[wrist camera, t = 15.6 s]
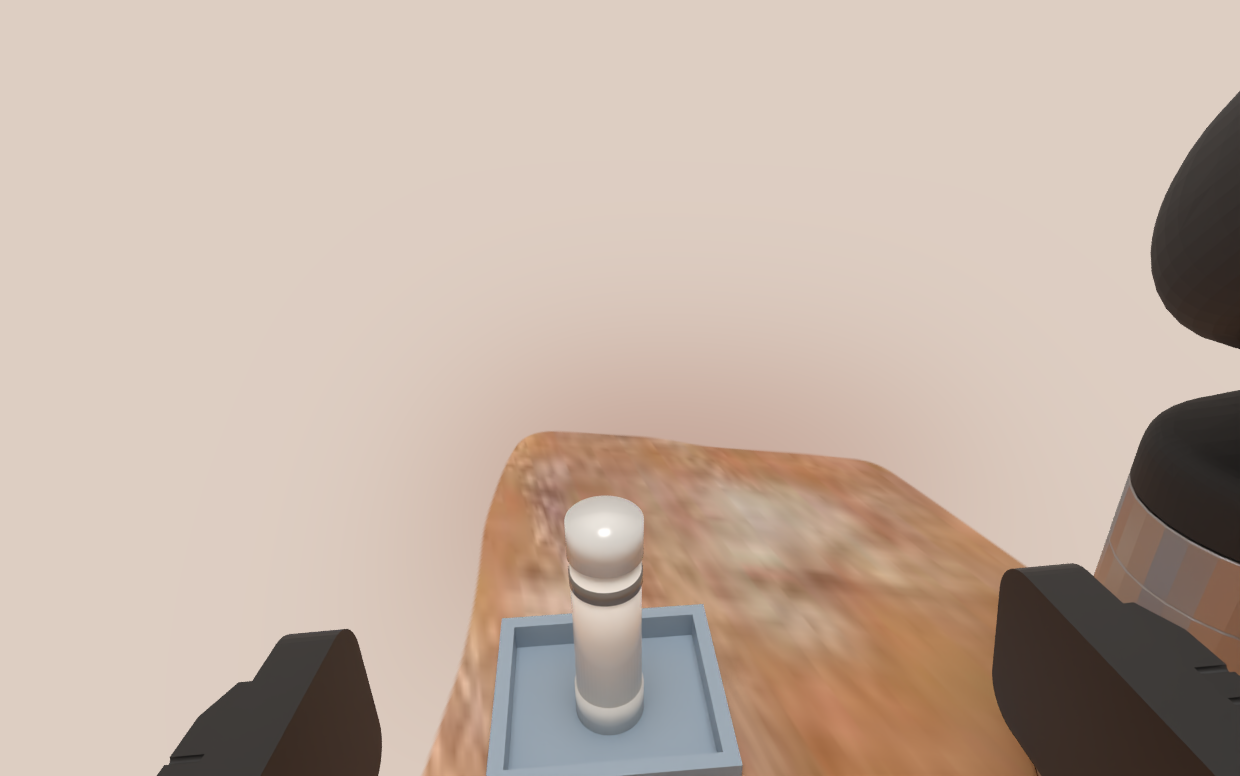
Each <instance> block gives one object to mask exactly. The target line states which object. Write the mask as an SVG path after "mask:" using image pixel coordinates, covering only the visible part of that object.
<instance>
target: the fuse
mask: <svg viewBox="0 0 1240 776" xmlns="http://www.w3.org/2000/svg"><path fill="white" fill-rule="evenodd" d="M564 523H565V539H566V554H567V560H568V562H569V569H568V570H569V585H570V589H571V603H572V619H573V635H574V652H575V668H576V676H575V697H576V711H577V715H578V718H579V720H580V721H581V723H582V724H583V725H584V726H585V727H586V728H588V729H589V730H591V731H593V732H595V733H597V734H601V735H617V734H621V733H624V732H626V731H628V730H630V729H631V728H633V727H634V726H635V725H636V724H637V723H638V721H639V720H640V718H641V716H642V714H643V709H644V678H643V673H642V583H643V565H642V558H643V554H644V517H643V513H642V511H641V510H640V508H639V507H638V506H637V505H635V504H634V503H632V502H631V501H629V500H626V499H624V498H620V497H615V496H596V497H591V498H587V499H584V500H582V501H580V502H578V503H576V504H575V505H573V506H572V507H571V508H570V509H569V510H568V512H567V513H566V516H565V520H564Z"/></svg>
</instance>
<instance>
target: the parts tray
mask: <svg viewBox="0 0 1240 776" xmlns="http://www.w3.org/2000/svg"><path fill="white" fill-rule="evenodd" d="M642 673H643V678H644V709H643V714H642V716H641V718H640V720H639V721H638V723H637V724H636V725H635V726H634V727H633V728H631V729H630V730H628V731H626V732H624V733H621V734H617V735H601V734H597V733H595V732H593V731H591V730H589V729H588V728H586V727H585V726H584V725H583V724H582V723H581V721H580V720H579V718H578V715H577V711H576V697H575V676H576V668H575V652H574V635H573V619H572V614H559V615H545V616H531V617H517V618H503V619H502V624H501V634H500V644H499V654H498V664H497V674H496V683H495V693H494V703H493V713H492V723H491V733H490V743H489V752H488V762H487V772H486V776H742V766H743V765H742V761H741V757H740V753H739V749H738V745H737V741H736V736H735V732H734V728H733V724H732V720H731V716H730V712H729V708H728V704H727V700H726V696H725V692H724V687H723V683H722V679H721V675H720V671H719V667H718V663H717V659H716V655H715V651H714V647H713V643H712V638H711V634H710V630H709V626H708V622H707V618H706V614H705V610H704V606H703V604H699V605H685V606H671V607H657V608H643V609H642Z"/></svg>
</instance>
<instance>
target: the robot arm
mask: <svg viewBox="0 0 1240 776" xmlns="http://www.w3.org/2000/svg"><path fill="white" fill-rule="evenodd" d="M1151 266H1152V267H1151V268H1152V275H1153V279H1154V282H1155V286H1156V290H1157V292H1158V294H1159V296H1160V298H1161V300H1162V302H1163V303H1164V305H1165V307H1166V309H1167V310H1168V311H1169V312H1170V313H1171V314H1172V315H1173V316H1174V317H1175V318H1176V319H1177V320H1178V322H1179V323H1180V324H1182V325H1183V326H1185V327H1186V328H1188V329H1190V330H1191V331H1193V332H1194V333H1196V334H1198V335H1200V336H1201V337H1204V338H1206V339H1210V340H1213V341H1216V342H1219V343H1223V344H1225V345H1228V346H1231V347H1235V348H1238V349H1240V92H1239V93H1238V94H1237V95H1236V96H1235V97H1234V98H1233V99H1232V100H1231V101H1230V102H1229V104H1228V105H1227V106H1226V107H1225V108H1224V109H1223V110H1222V111H1221V112H1220V113H1219V114H1218V116H1217V117H1216V118H1215V119H1214V120H1213V121H1212V123H1211V124H1210V125H1209V126H1208V127H1207V128H1206V130H1205V131H1204V132H1203V134H1202V135H1201V137H1200V138H1199V139H1198V141H1197V142H1196V144H1195V145H1194V146H1193V148H1192V149H1191V150H1190V152H1189V154H1188V155H1187V157H1186V159H1185V160H1184V162H1183V164H1182V165H1181V167H1180V169H1179V171H1178V173H1177V174H1176V176H1175V177H1174V179H1173V181H1172V183H1171V185H1170V187H1169V189H1168V191H1167V193H1166V195H1165V198H1164V200H1163V202H1162V205H1161V208H1160V210H1159V214H1158V217H1157V220H1156V223H1155V227H1154V232H1153V237H1152V245H1151ZM992 677H993V686H994V691H995V696H996V699H997V703H998V706H999V708H1000V711H1001V713H1002V716H1003V718H1004V720H1005V722H1006V724H1007V725H1008V727H1009V729H1010V730H1011V732H1012V733H1013V735H1014V736H1015V738H1016V739H1017V741H1018V742H1019V744H1020V745H1021V747H1022V748H1023V749H1024V751H1025V752H1026V754H1027V755H1028V757H1029V758H1030V760H1031V761H1032V763H1033V764H1034V766H1035V767H1036V770H1037V773H1038V776H1240V390H1238V391H1232V392H1227V393H1223V394H1217V395H1213V396H1207V397H1201V398H1197V399H1193V400H1189V401H1186V402H1183V403H1180V404H1178V405H1175V406H1173V407H1171V408H1169V409H1167V410H1165V411H1164V412H1162V413H1161V414H1159V415H1158V416H1157V417H1156V418H1155V419H1154V420H1153V421H1152V422H1151V423H1150V425H1149V426H1148V428H1147V430H1146V431H1145V433H1144V435H1143V437H1142V440H1141V442H1140V445H1139V447H1138V450H1137V453H1136V456H1135V459H1134V462H1133V465H1132V467H1131V471H1130V474H1129V476H1128V479H1127V481H1126V484H1125V487H1124V490H1123V493H1122V496H1121V499H1120V501H1119V504H1118V507H1117V510H1116V513H1115V516H1114V518H1113V522H1112V524H1111V527H1110V531H1109V534H1108V536H1107V539H1106V542H1105V545H1104V548H1103V551H1102V554H1101V556H1100V560H1099V562H1098V565H1097V568H1096V571H1095V574H1094V576H1093V575H1091V574H1090V573H1089V572H1088V571H1087V570H1085V569H1084V568H1083V567H1081V566H1079V565H1077V564H1073V563H1072V564H1061V565H1049V566H1038V567H1028V568H1017V569H1009V570H1007V571H1006V572H1005V573H1004V575H1003V577H1002V580H1001V584H1000V592H999V603H998V614H997V624H996V635H995V646H994V657H993V668H992ZM381 752H382V737H381V728H380V723H379V719H378V715H377V712H376V708H375V704H374V700H373V696H372V693H371V689H370V685H369V681H368V678H367V674H366V670H365V666H364V663H363V660H362V655H361V652H360V648H359V644H358V641H357V639H356V637H355V635H354V634H353V632H352V631H351V630H348V629H342V630H331V631H321V632H309V633H298V634H289V635H286V636H283V637H282V638H281V639H280V640H279V641H278V643H277V644H276V645H275V647H274V649H273V650H272V652H271V653H270V655H269V656H268V658H267V659H266V661H265V662H264V664H263V665H262V667H261V668H260V670H259V671H258V673H257V675H256V676H255V678H254V679H253V681H249V682H239V683H237V684H236V685H235V686H234V687H233V688H232V689H230V690H229V691H228V692H227V693H226V694H225V695H224V696H222V697H221V698H220V699H219V700H218V701H217V702H215V703H214V704H213V705H212V706H211V707H209V708H208V709H207V710H206V711H205V712H204V713H203V714H201V715H200V716H199V717H198V718H197V719H196V721H195V722H194V724H193V725H192V727H191V728H190V729H189V731H188V732H187V734H186V735H185V737H184V738H183V739H182V741H181V742H180V744H179V745H178V747H177V748H176V749H175V751H174V752H173V754H172V755H171V757H170V763H169V765H164V766H163V768H162V769H161V771H160V772H159V773H158V775H157V776H378V774H379V768H380V762H381Z"/></svg>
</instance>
